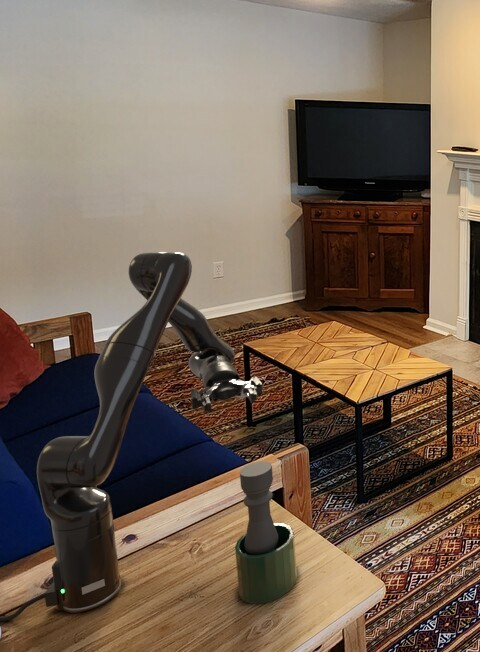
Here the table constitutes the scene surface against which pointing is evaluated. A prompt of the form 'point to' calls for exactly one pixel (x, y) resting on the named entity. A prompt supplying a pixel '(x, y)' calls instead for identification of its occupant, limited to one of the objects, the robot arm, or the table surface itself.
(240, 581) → the pot
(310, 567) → the table surface
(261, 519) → the candle holder
